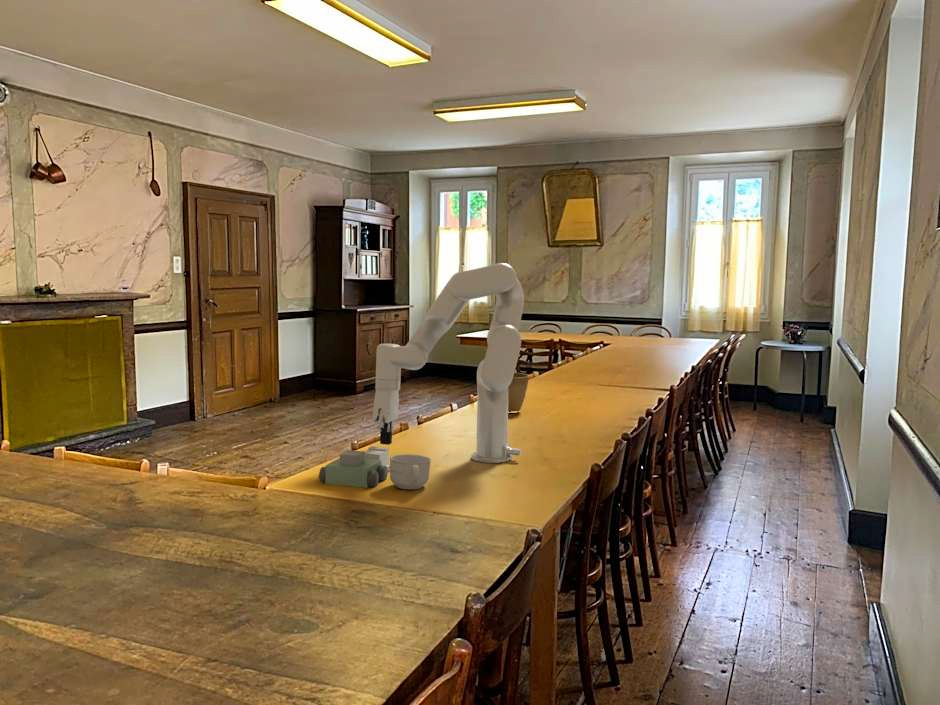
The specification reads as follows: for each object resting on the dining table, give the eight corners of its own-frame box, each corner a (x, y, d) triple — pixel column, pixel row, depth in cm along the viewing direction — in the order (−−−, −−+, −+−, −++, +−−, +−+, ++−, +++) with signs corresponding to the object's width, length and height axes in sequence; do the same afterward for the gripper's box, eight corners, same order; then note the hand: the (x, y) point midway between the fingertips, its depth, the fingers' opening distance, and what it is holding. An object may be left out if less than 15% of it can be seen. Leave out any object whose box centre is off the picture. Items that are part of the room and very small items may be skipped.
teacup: (390, 481, 196) (390, 452, 196) (430, 481, 197) (430, 452, 196) (388, 496, 183) (388, 465, 182) (431, 496, 183) (431, 465, 183)
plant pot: (486, 410, 306) (487, 373, 305) (517, 408, 313) (518, 371, 311) (502, 416, 293) (503, 377, 291) (534, 414, 299) (535, 376, 298)
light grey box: (388, 465, 213) (388, 447, 213) (379, 471, 206) (379, 453, 206) (371, 464, 215) (371, 446, 214) (361, 470, 208) (361, 451, 207)
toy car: (398, 470, 207) (398, 443, 207) (373, 488, 189) (373, 458, 188) (348, 466, 211) (348, 439, 211) (319, 483, 193) (318, 454, 192)
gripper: (385, 380, 227) (383, 437, 228) (366, 386, 212) (364, 447, 214) (408, 382, 225) (405, 440, 226) (390, 388, 210) (388, 450, 212)
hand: (385, 443), depth 220 cm, fingers closed
